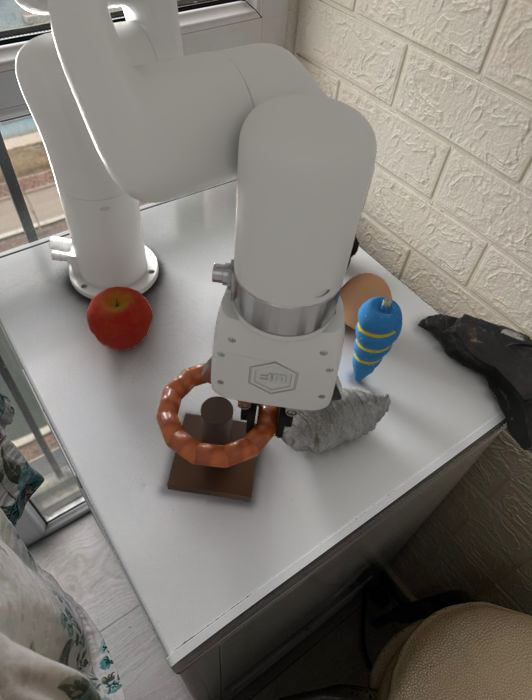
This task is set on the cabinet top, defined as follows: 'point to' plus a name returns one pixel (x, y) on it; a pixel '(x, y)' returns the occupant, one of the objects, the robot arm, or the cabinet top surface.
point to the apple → (119, 317)
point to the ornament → (375, 334)
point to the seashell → (336, 421)
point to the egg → (361, 294)
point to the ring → (204, 451)
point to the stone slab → (492, 364)
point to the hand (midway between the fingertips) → (265, 422)
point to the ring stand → (216, 430)
